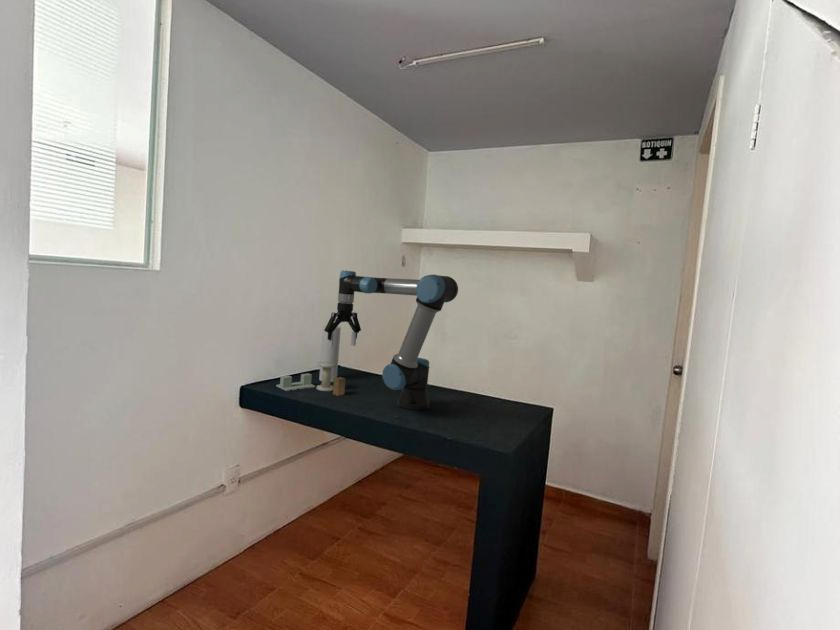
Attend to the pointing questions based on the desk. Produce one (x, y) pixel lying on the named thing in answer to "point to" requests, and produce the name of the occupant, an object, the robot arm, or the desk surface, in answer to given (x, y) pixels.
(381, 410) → the desk surface
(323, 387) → the bobbin
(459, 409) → the desk surface
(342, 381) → the brown wooden block
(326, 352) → the cylinder container
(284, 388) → the terminal board
